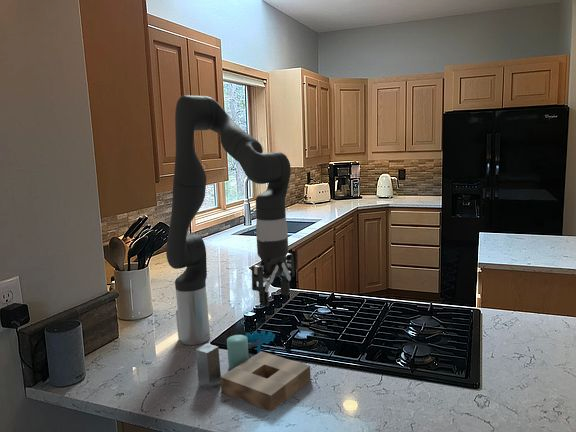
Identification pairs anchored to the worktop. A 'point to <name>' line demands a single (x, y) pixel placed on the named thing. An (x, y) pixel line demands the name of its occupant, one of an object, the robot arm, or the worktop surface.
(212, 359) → the square peg
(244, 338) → the round peg
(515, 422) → the worktop surface
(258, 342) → the gear
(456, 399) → the worktop surface
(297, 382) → the socket block
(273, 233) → the robot arm
